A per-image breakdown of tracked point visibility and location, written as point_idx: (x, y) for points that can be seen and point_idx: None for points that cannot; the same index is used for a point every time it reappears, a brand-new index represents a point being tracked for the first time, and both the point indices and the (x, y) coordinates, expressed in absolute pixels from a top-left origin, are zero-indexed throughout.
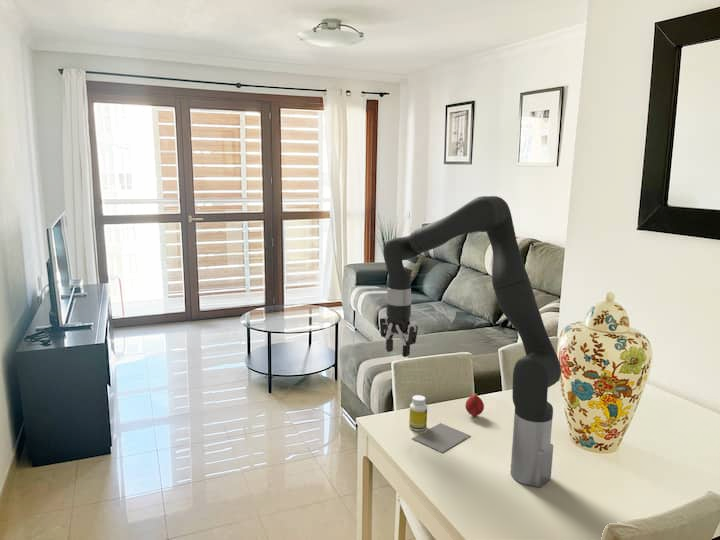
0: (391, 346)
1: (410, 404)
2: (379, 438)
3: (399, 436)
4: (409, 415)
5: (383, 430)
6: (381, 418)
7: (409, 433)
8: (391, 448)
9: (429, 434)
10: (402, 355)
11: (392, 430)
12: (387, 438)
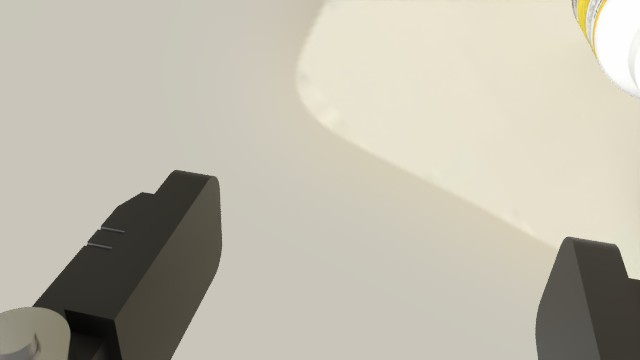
0: (187, 257)
1: (606, 64)
2: (490, 210)
3: (574, 142)
4: (588, 42)
5: (461, 137)
6: (366, 29)
7: None
8: None
9: None
10: (536, 340)
11: (504, 110)
12: (525, 191)
